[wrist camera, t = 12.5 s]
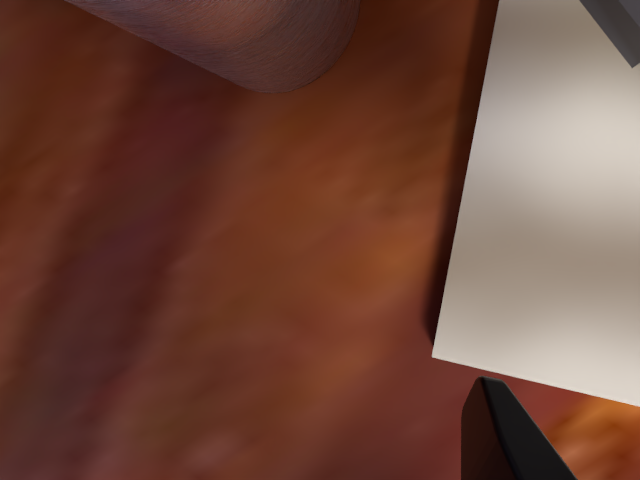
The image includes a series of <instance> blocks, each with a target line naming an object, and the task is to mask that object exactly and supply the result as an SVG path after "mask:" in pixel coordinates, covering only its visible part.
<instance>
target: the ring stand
mask: <svg viewBox="0 0 640 480" xmlns="http://www.w3.org/2000/svg"><path fill="white" fill-rule="evenodd" d="M432 357H433V358H437V359H442V360H446V361H450V362H454V363H458V364H463V365H467V366H471V367H475V368H480V369H484V370H488V371H492V372H496V373H501V374H505V375H509V376H513V377H517V378H522V379H526V380H530V381H534V382H538V383H543V384H547V385H551V386H555V387H560V388H564V389H568V390H572V391H576V392H581V393H585V394H589V395H593V396H597V397H602V398H606V399H610V400H614V401H618V402H623V403H627V404H631V405H635V406H640V0H499V5H498V10H497V15H496V21H495V26H494V31H493V36H492V42H491V47H490V52H489V57H488V63H487V68H486V73H485V79H484V84H483V89H482V94H481V100H480V105H479V110H478V115H477V121H476V126H475V131H474V137H473V142H472V147H471V152H470V158H469V163H468V168H467V173H466V179H465V184H464V189H463V195H462V200H461V205H460V210H459V216H458V221H457V226H456V232H455V237H454V242H453V247H452V253H451V258H450V263H449V268H448V274H447V279H446V284H445V290H444V295H443V300H442V305H441V311H440V316H439V321H438V326H437V332H436V337H435V342H434V348H433V353H432Z"/></svg>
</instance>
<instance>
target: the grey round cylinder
mask: <svg viewBox="0 0 640 480" xmlns="http://www.w3.org/2000/svg"><path fill="white" fill-rule="evenodd" d="M65 1H67V2H69V3H71V4H73V5H75V6H77V7H79V8H81V9H83V10H85V11H87V12H89V13H91V14H93V15H95V16H97V17H100V18H102V19H104V20H106V21H108V22H110V23H112V24H114V25H116V26H118V27H120V28H122V29H124V30H126V31H128V32H130V33H132V34H134V35H137V36H139V37H141V38H143V39H145V40H147V41H149V42H151V43H153V44H155V45H157V46H159V47H161V48H163V49H165V50H167V51H169V52H171V53H174V54H176V55H178V56H180V57H182V58H184V59H186V60H188V61H190V62H192V63H194V64H196V65H198V66H200V67H202V68H204V69H206V70H208V71H211V72H213V73H215V74H217V75H219V76H221V77H223V78H225V79H227V80H229V81H231V82H233V83H235V84H237V85H239V86H242V87H244V88H246V89H249V90H252V91H256V92H262V93H281V92H288V91H291V90H295V89H298V88H301V87H303V86H305V85H307V84H309V83H311V82H313V81H314V80H316V79H317V78H319V77H320V76H321V75H323V74H324V73H325V72H326V71H328V70H329V69H330V68H331V67H332V65H333V64H334V63H335V62H336V61H337V60H338V59H339V57H340V56H341V55H342V53H343V52H344V50H345V48H346V47H347V45H348V43H349V41H350V39H351V37H352V34H353V32H354V30H355V26H356V23H357V20H358V15H359V9H360V0H65Z"/></svg>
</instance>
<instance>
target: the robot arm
mask: <svg viewBox="0 0 640 480" xmlns="http://www.w3.org/2000/svg"><path fill="white" fill-rule="evenodd" d="M461 480H578V479H577V478H576V477H575V475H574V474H573V473H572V471H571V470H570V469H569V467H568V466H567V465H566V463H565V462H564V461H563V459H562V458H561V457H560V455H559V454H558V452H557V451H556V450H555V448H554V447H553V446H552V444H551V443H550V442H549V440H548V439H547V438H546V436H545V435H544V434H543V432H542V431H541V430H540V428H539V427H538V426H537V424H536V423H535V422H534V420H533V419H532V418H531V416H530V415H529V414H528V412H527V411H526V410H525V408H524V407H523V406H522V404H521V403H520V402H519V400H518V399H517V398H516V396H515V395H514V394H513V392H512V391H511V390H510V388H509V387H508V386H507V384H506V383H505V382H504V381H503V380H501V379H496V378H491V377H486V376H479V377H478V378H477V379H476V380H475V382H474V384H473V387H472V389H471V391H470V393H469V395H468V397H467V399H466V402H465V404H464V406H463V410H462V417H461Z"/></svg>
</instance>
